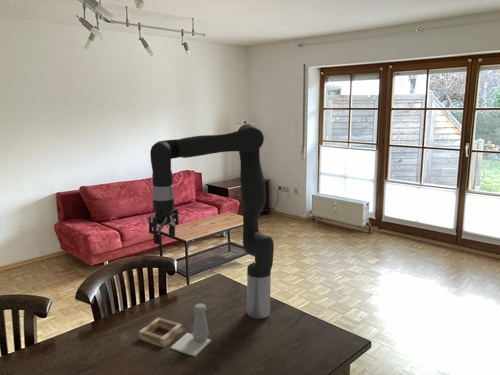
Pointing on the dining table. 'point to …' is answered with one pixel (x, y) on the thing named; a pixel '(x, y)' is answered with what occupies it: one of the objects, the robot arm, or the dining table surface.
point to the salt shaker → (200, 324)
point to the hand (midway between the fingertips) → (164, 240)
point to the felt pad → (190, 345)
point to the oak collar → (155, 339)
